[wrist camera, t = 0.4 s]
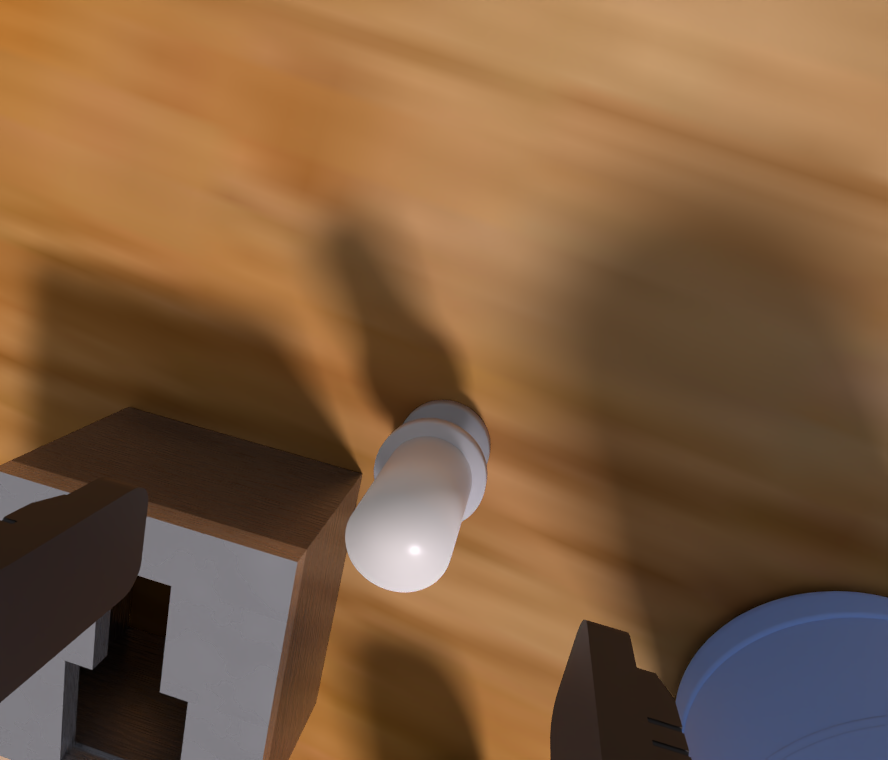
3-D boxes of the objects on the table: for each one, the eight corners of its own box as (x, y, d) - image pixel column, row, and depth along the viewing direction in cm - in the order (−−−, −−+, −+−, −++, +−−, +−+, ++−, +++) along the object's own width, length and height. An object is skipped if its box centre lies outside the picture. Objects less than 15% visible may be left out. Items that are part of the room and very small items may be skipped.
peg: (407, 384, 32) (342, 461, 22) (505, 411, 32) (483, 501, 22) (388, 473, 34) (319, 583, 24) (481, 500, 33) (450, 623, 23)
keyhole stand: (128, 406, 35) (-9, 469, 27) (362, 473, 34) (297, 562, 25) (110, 636, 40) (-11, 751, 31) (315, 703, 38) (247, 843, 30)
